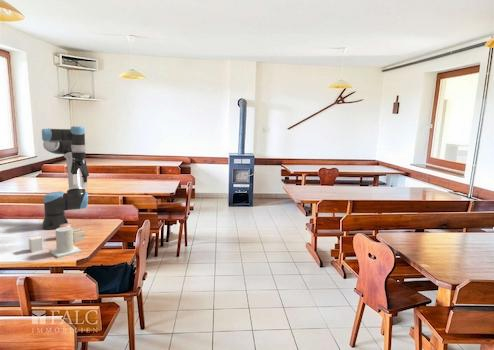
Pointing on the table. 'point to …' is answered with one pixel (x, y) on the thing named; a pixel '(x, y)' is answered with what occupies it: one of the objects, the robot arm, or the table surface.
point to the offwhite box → (35, 244)
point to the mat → (58, 255)
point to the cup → (64, 239)
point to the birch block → (78, 235)
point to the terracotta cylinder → (65, 225)
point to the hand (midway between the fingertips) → (80, 185)
